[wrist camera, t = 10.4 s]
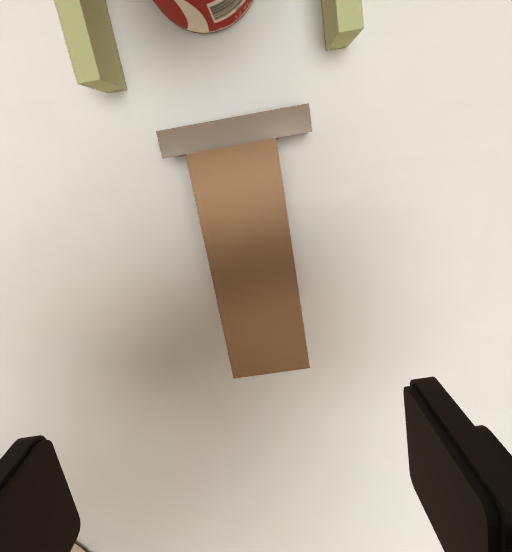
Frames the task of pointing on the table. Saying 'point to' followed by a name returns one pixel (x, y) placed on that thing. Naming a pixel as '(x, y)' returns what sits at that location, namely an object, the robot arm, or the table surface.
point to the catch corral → (103, 52)
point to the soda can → (203, 13)
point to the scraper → (247, 233)
